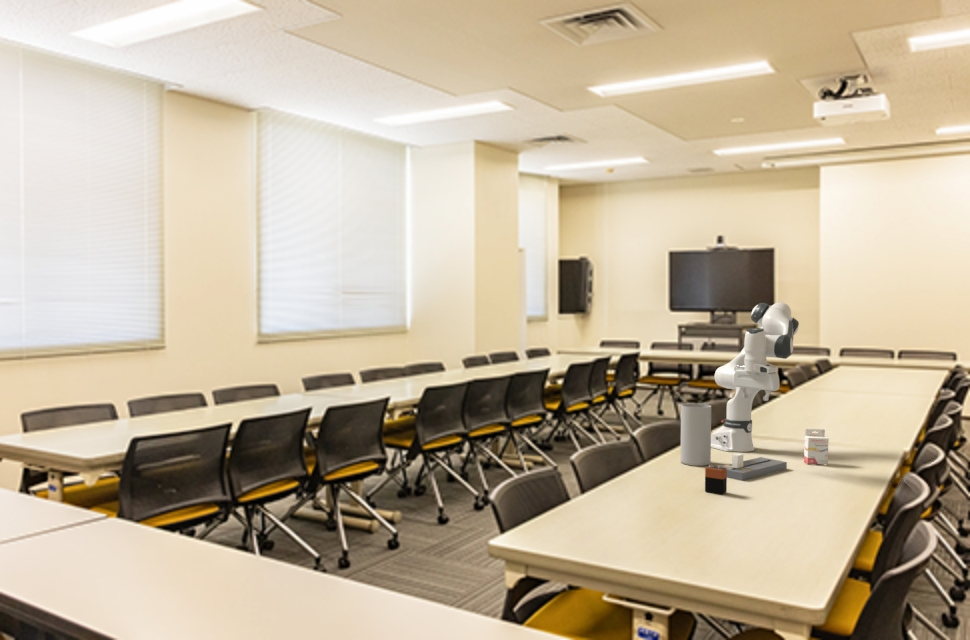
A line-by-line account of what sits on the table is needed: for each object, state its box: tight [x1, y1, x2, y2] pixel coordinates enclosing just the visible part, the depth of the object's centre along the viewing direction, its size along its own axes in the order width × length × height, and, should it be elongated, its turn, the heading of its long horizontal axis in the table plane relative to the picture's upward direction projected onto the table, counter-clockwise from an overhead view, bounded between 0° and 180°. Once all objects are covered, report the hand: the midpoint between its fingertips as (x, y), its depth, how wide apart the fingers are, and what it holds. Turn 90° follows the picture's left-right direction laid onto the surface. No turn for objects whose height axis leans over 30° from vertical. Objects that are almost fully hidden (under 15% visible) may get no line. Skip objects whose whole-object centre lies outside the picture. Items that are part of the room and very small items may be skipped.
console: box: [722, 456, 788, 482], centre depth 303 cm, size 12×32×3 cm, turn 128°
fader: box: [731, 452, 744, 469], centre depth 297 cm, size 2×4×7 cm, turn 128°
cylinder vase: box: [680, 402, 712, 467], centre depth 319 cm, size 12×12×25 cm
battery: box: [704, 464, 728, 495], centre depth 271 cm, size 4×7×10 cm, turn 54°
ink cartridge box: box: [803, 428, 830, 465], centre depth 319 cm, size 9×5×15 cm, turn 84°
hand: (755, 399), depth 313 cm, fingers open, 8 cm apart
